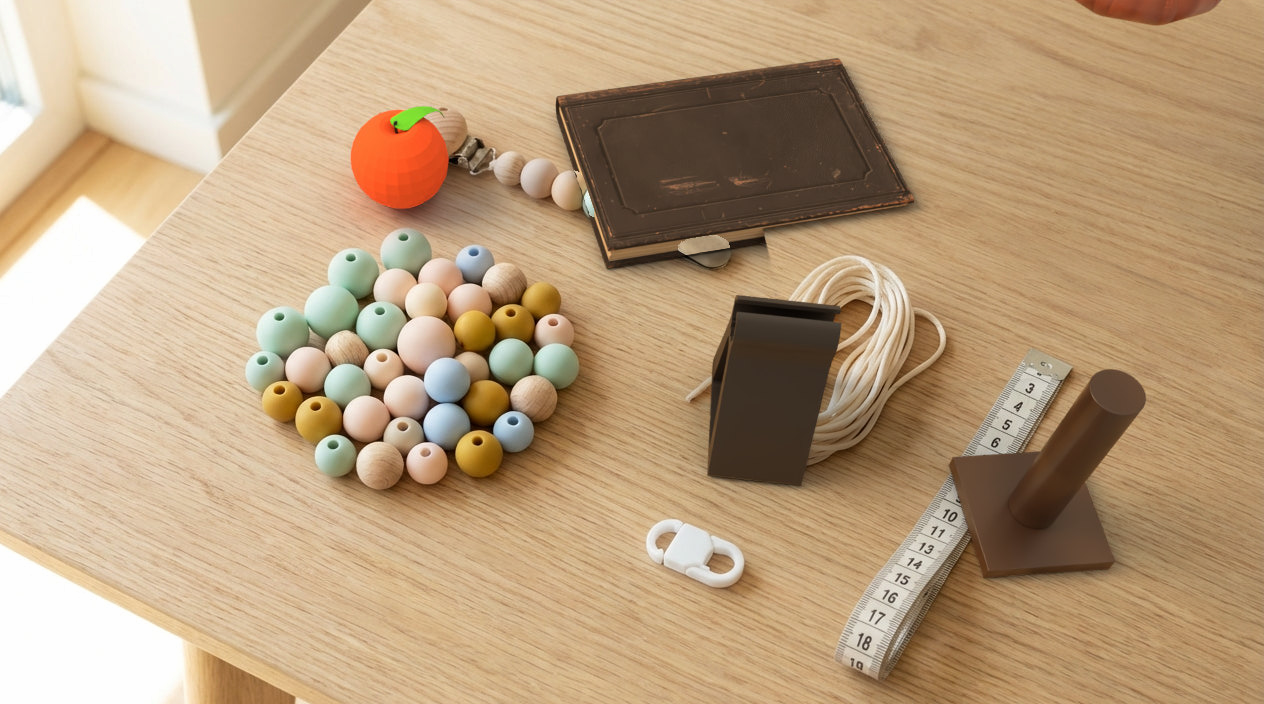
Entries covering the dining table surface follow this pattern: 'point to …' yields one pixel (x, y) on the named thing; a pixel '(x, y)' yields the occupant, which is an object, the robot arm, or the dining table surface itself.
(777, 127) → the hardcover book
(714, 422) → the phone stand
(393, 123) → the clementine
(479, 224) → the dining table surface
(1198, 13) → the ring
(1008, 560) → the peg
